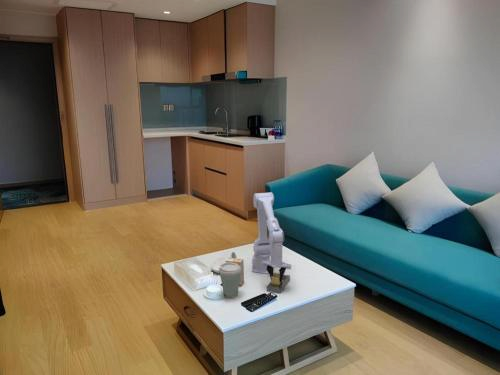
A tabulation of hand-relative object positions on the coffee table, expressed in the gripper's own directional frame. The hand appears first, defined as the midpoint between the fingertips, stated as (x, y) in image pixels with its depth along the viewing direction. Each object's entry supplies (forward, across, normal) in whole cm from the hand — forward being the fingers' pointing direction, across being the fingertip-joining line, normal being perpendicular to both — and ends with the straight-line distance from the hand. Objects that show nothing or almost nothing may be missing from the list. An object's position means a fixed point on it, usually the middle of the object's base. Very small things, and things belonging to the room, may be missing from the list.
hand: (276, 280), depth 190 cm
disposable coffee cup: (+4, -18, -14) cm, 24 cm away
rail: (+4, 0, +4) cm, 5 cm away
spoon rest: (+4, -35, +15) cm, 39 cm away
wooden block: (+2, 0, 0) cm, 2 cm away
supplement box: (+4, -22, -2) cm, 22 cm away
